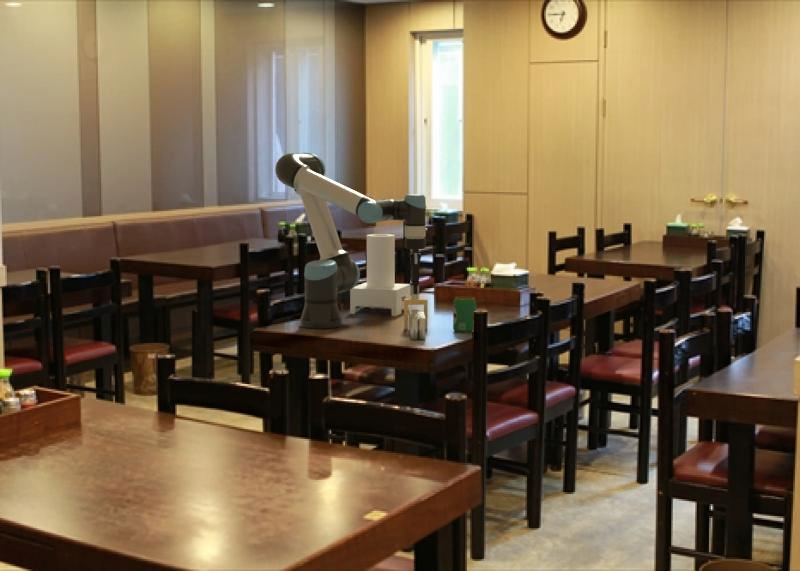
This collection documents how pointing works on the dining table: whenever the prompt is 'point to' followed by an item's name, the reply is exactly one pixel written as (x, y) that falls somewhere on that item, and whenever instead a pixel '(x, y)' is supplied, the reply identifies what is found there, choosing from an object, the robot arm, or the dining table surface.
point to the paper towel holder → (380, 278)
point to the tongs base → (416, 310)
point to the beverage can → (463, 314)
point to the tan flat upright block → (414, 302)
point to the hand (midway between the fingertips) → (415, 302)
